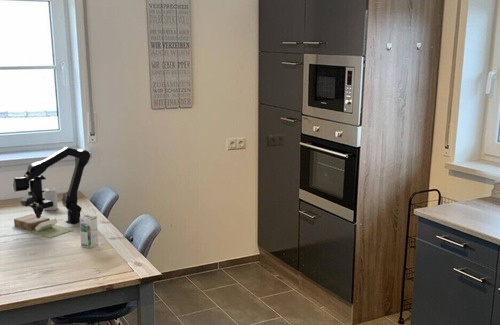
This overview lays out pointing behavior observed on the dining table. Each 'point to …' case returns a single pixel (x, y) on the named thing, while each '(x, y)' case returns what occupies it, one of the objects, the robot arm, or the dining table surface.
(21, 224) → the brown flat block
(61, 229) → the mat
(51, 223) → the cream chamfered block
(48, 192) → the can
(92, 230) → the syrup box
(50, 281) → the dining table surface
